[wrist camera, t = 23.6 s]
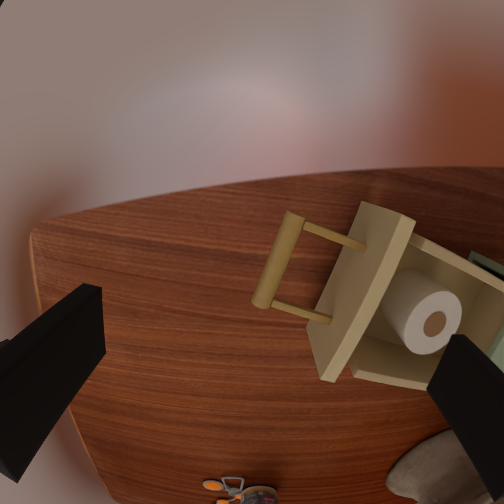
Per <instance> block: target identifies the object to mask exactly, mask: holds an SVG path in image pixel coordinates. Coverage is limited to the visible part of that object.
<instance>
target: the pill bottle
mask: <svg viewBox="0 0 504 504" xmlns="http://www.w3.org/2000/svg"><path fill="white" fill-rule="evenodd" d="M241 504H278V498H277V492H276V490H275V489H273V488H271V487H268V486H252V487H248V488H246V489H245V490H243V492H242V493H241Z"/></svg>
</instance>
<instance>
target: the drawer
mask: <svg viewBox="0 0 504 504" xmlns="http://www.w3.org/2000/svg"><path fill="white" fill-rule="evenodd" d="M305 219H306V217H305V216H303V215H301V214H299V213H296V212H293V211H290V210H286V213H285V216H284V218H283V221H282V223H281V226H280V228H279V231H278V234H277V236H276V239H275V241H274V244H273V246H272V249H271V252H270V254H269V257H268V259H267V262H266V264H265V267H264V269H263V272H262V274H261V277H260V279H259V282H258V284H257V287H256V289H255V292H254V294H253V297H252V299H251V302H252V304H253V305H255V306H257V307H259V308H262V309H268V308H269V307H270V306H271V307H274V308H277V309H280V310H283V311H286V312H289V313H293V314H296V315H299V316H302V317H305V318H308V319H310V320H309V322H308V324H307V326H306V330H307V334H308V337H309V341H310V344H311V348H312V352H313V355H314V359H315V363H316V366H317V370H318V374H319V377H320V379H321V380H325V381H329V382H335V381H336V379H337V377H338V376H339V374H340V373H341V371H342V369H343V368H344V366H345V364H346V363H347V362H348V365H349V367H350V369H351V372H352V374H353V376H354V377H356V378H360V379H365V380H370V381H375V382H380V383H385V384H390V385H395V386H401V387H407V388H412V389H419V390H425V391H427V390H426V388H427V386H428V384H429V382H430V380H431V378H432V376H433V374H434V372H435V370H436V368H437V366H438V364H439V362H440V360H441V358H442V355H443V353H444V351H445V349H446V347H447V344H448V343H447V344H446V345H444V346H443V347H442V348H440V349H439V350H437V351H435V352H433V353H430V354H424V355H421V354H416V353H414V352H412V351H411V350H409V349H408V347H407V346H406V345H405V343H404V342H403V341H402V339H401V338H400V337H399V336H398V334H397V333H396V332H395V330H394V329H393V328H392V326H391V325H390V324H389V323H388V321H387V320H386V319H385V317H384V316H383V314H382V312H381V307H380V301H381V299H382V297H383V295H384V293H385V291H386V289H387V287H388V285H389V283H390V281H391V279H392V277H393V276H395V275H396V274H397V273H399V272H401V271H403V270H406V269H418V270H421V271H423V272H424V273H426V274H427V275H428V276H430V277H431V278H433V279H434V280H436V281H437V282H438V283H440V284H441V285H443V286H444V287H445V288H447V289H448V290H450V291H451V292H452V293H454V294H455V295H456V296H457V297H458V299H459V301H460V303H461V307H462V316H461V321H460V324H459V327H458V329H457V331H456V333H455V334H465V335H466V336H467V337H468V338H469V339H470V340H471V341H472V342H473V343H474V344H475V345H476V346H477V347H478V348H479V349H480V350H481V351H482V352H483V353H484V354H487V352H488V350H489V349H490V347H491V345H492V344H493V342H494V340H495V338H496V337H497V335H498V333H499V331H500V329H501V327H502V325H503V324H504V281H502V280H500V279H499V278H497V277H495V276H494V275H492V274H490V273H489V272H487V271H485V270H483V269H482V268H480V267H478V266H476V265H475V264H473V263H471V262H469V261H468V260H466V259H464V258H462V257H460V256H458V255H457V254H455V253H453V252H451V251H449V250H447V249H445V248H443V247H442V246H440V245H438V244H436V243H434V242H432V241H430V240H428V239H426V238H424V237H422V236H420V235H417V234H415V233H413V232H412V231H413V228H414V226H415V223H416V221H415V220H413V219H411V218H409V217H407V216H405V215H403V214H401V213H398V212H395V211H392V210H389V209H386V208H383V207H380V206H377V205H374V204H371V203H368V202H365V201H361V204H360V206H359V209H358V211H357V214H356V216H355V219H354V221H353V224H352V226H351V229H350V231H349V234H348V236H345V235H343V234H340V233H338V232H335V231H333V230H330V229H328V228H325V227H323V226H320V225H318V224H315V223H313V222H310V221H307V220H305ZM301 229H304V230H307V231H309V232H312V233H315V234H317V235H320V236H322V237H325V238H327V239H330V240H333V241H335V242H338V243H340V244H343V248H342V250H341V252H340V255H339V257H338V259H337V262H336V264H335V266H334V268H333V271H332V273H331V275H330V277H329V280H328V282H327V284H326V286H325V288H324V290H323V293H322V295H321V297H320V299H319V301H318V303H317V305H316V307H315V310H312V309H309V308H306V307H303V306H300V305H297V304H294V303H291V302H288V301H285V300H282V299H279V298H276V297H274V295H275V292H276V290H277V288H278V285H279V283H280V281H281V278H282V276H283V273H284V271H285V269H286V266H287V264H288V261H289V259H290V256H291V254H292V252H293V249H294V247H295V244H296V242H297V239H298V237H299V234H300V232H301Z"/></svg>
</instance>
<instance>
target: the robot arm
mask: <svg viewBox="0 0 504 504" xmlns="http://www.w3.org/2000/svg"><path fill="white" fill-rule="evenodd" d="M3 1H4V0H0V6H1V4H2V3H3ZM105 354H106V348H105V337H104V324H103V308H102V287H98V286H94V285H89V284H85V283H83V284H82V285H80V286H79V287H78V288H76V289H75V290H74V291H72V292H71V293H70V294H68V295H67V296H66V297H64V298H63V299H62V300H60V301H59V302H58V303H56V304H55V305H54V306H52V307H51V308H50V309H49V310H47V311H46V312H45V313H43V314H42V315H41V316H40V317H38V318H37V319H36V320H35V321H33V322H32V323H31V324H30V325H28V326H27V327H26V328H25V329H24V330H22V331H21V332H20V333H19V334H17V335H16V336H15V337H14V338H13V339H11V340H8V339H6V340H4V341H1V342H0V473H2V474H3V475H5V476H6V477H8V478H9V479H11V480H13V481H14V482H16V483H18V482H19V480H20V478H21V477H22V475H23V474H24V472H25V470H26V469H27V467H28V466H29V464H30V462H31V461H32V459H33V457H34V456H35V454H36V453H37V451H38V450H39V448H40V447H41V445H42V444H43V442H44V441H45V439H46V438H47V436H48V434H49V433H50V431H51V430H52V429H53V427H54V426H55V424H56V423H57V421H58V420H59V418H60V417H61V415H62V414H63V412H64V411H65V409H66V408H67V407H68V405H69V404H70V402H71V401H72V399H73V398H74V397H75V395H76V394H77V392H78V391H79V389H80V388H81V387H82V385H83V384H84V382H85V381H86V380H87V378H88V377H89V376H90V374H91V373H92V371H93V370H94V369H95V367H96V366H97V365H98V363H99V362H100V361H101V359H102V358H103V357H104V355H105ZM426 390H427V391H428V393H429V394H430V396H431V397H432V399H433V400H434V402H435V403H436V405H437V406H438V408H439V410H440V411H441V413H442V414H443V416H444V417H445V419H446V421H447V422H448V424H449V425H450V427H451V428H452V430H453V432H454V433H455V435H456V437H457V438H458V440H459V441H460V443H461V445H462V446H463V448H464V450H465V451H466V453H467V455H468V457H469V458H470V460H471V462H472V463H473V465H474V467H475V469H476V470H477V472H478V474H479V476H480V477H481V479H482V481H483V483H484V485H485V486H486V488H487V490H488V492H489V494H490V496H491V498H492V500H493V501H494V502H496V501H498V500H500V499H502V498H504V372H503V371H502V370H501V369H500V368H499V367H498V366H497V365H496V364H495V363H494V362H493V361H492V360H491V359H490V358H489V357H488V356H487V355H486V354H484V353H483V352H482V351H481V350H480V349H479V348H478V347H477V346H476V345H475V344H474V343H473V342H472V341H471V340H470V339H469V338H468V337H467V336H466V335H465V334H452V335H451V337H450V340H449V342H448V344H447V347H446V349H445V351H444V353H443V355H442V358H441V360H440V362H439V364H438V366H437V368H436V370H435V372H434V374H433V376H432V378H431V380H430V382H429V384H428V386H427V388H426Z"/></svg>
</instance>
